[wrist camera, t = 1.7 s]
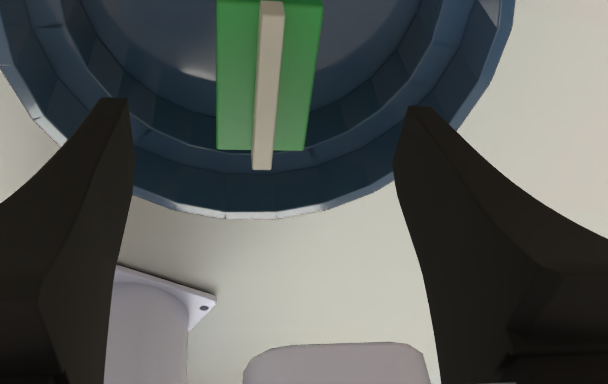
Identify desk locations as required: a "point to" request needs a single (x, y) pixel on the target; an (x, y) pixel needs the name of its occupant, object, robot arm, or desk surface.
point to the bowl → (202, 91)
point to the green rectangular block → (265, 74)
